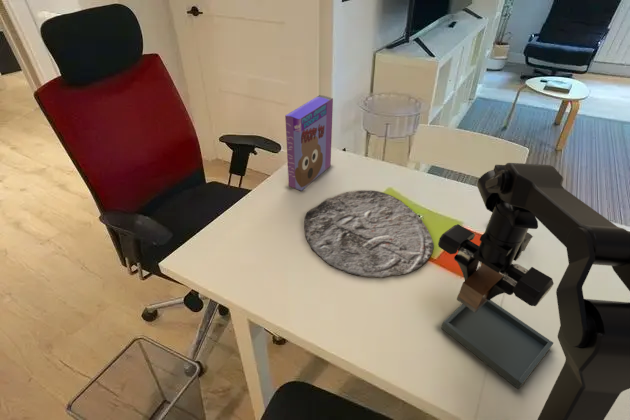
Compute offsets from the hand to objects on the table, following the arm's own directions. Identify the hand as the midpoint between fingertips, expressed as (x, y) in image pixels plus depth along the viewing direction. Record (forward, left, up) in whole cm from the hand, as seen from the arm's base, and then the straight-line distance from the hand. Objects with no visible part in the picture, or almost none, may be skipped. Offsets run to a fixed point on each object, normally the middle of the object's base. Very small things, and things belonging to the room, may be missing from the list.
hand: (478, 291), depth 71 cm
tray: (-6, -2, -11) cm, 12 cm away
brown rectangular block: (0, 0, -1) cm, 1 cm away
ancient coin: (+33, -6, -11) cm, 36 cm away
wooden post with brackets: (+7, -19, -11) cm, 23 cm away
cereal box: (+64, -11, -11) cm, 66 cm away
